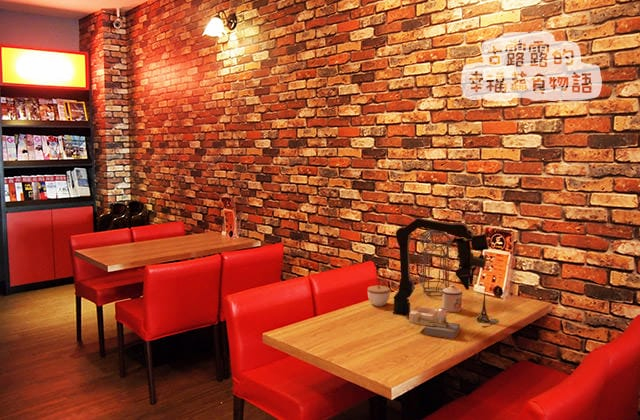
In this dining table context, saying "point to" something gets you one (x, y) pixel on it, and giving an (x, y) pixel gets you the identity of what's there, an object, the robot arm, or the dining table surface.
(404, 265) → the robot arm
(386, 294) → the lidded jar
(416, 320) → the brass guide bars
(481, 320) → the eiffel tower figurine
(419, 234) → the geometric lantern
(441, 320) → the steel pin
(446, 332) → the socket block
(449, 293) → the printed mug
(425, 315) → the square hole block
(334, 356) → the dining table surface
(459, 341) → the dining table surface
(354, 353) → the dining table surface
